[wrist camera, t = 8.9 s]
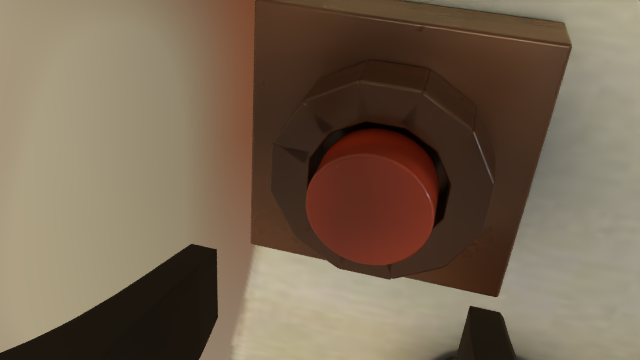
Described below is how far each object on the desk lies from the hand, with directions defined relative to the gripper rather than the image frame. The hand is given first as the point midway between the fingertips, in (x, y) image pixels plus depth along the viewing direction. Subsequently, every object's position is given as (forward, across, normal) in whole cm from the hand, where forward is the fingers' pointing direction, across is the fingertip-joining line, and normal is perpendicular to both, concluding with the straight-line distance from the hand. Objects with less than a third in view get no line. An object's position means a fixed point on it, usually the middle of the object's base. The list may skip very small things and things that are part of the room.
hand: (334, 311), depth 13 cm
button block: (+9, 0, 0) cm, 9 cm away
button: (+6, 0, 0) cm, 6 cm away
